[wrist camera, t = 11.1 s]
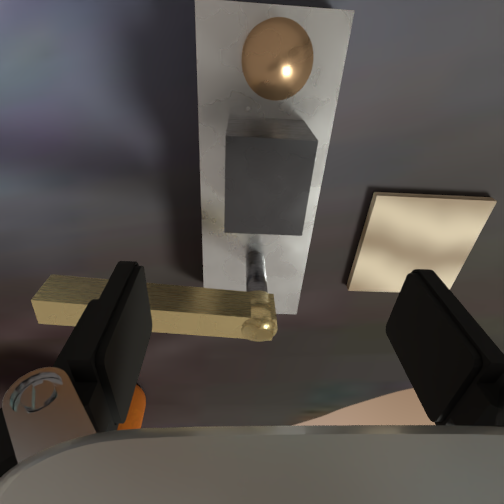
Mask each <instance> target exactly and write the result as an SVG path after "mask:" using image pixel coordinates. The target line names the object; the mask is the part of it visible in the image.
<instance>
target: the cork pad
mask: <svg viewBox="0 0 504 504" xmlns="http://www.w3.org/2000/svg"><path fill="white" fill-rule="evenodd" d="M496 202H497V201H496V200H494V199H493V198H491V197H472V196H451V195H430V194H409V193H388V192H374V193H373V197H372V200H371V204H370V207H369V210H368V214H367V217H366V221H365V224H364V228H363V231H362V234H361V238H360V241H359V245H358V248H357V251H356V255H355V258H354V262H353V265H352V268H351V272H350V275H349V279H348V282H347V288H348V291H376V292H400V291H401V288H402V286H403V283H404V281H405V279H406V276H407V274H409V273H411V272H412V271H413V270H414V269H430V270H433V271H434V272H435V273H436V274H437V275H438V277H439V278H440V279H441V280H442V281H443V283H444V284H445V285H446V286H447V287H448V289H449V290H450V288H451V287H452V285H453V283H454V281H455V279H456V277H457V275H458V273H459V271H460V270H461V268H462V266H463V264H464V262H465V260H466V258H467V256H468V255H469V253H470V251H471V249H472V247H473V245H474V243H475V241H476V240H477V238H478V236H479V234H480V232H481V230H482V228H483V226H484V225H485V223H486V221H487V219H488V217H489V215H490V213H491V211H492V210H493V208H494V206H495V204H496Z"/></svg>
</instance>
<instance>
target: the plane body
mask: <svg viewBox="0 0 504 504" xmlns="http://www.w3.org/2000/svg"><path fill="white" fill-rule="evenodd" d="M353 16H354V11H353V10H340V9H328V8H315V7H302V6H289V5H277V4H264V3H251V2H238V1H226V0H195V23H196V55H197V87H198V119H199V152H200V184H201V216H202V248H203V281H204V288H212V289H224V290H235V291H246V292H251V291H257V290H260V291H265V292H267V293H269V294H274V301H275V310H276V314H296V313H297V308H298V303H299V298H300V292H301V287H302V282H303V277H304V272H305V266H306V261H307V256H308V251H309V246H310V240H311V235H312V230H313V225H314V220H315V214H316V209H317V204H318V199H319V193H320V188H321V183H322V178H323V173H324V167H325V162H326V157H327V152H328V147H329V141H330V136H331V131H332V126H333V120H334V115H335V110H336V105H337V100H338V94H339V89H340V84H341V79H342V74H343V68H344V63H345V58H346V53H347V48H348V42H349V37H350V32H351V27H352V21H353ZM229 116H241V117H258V118H275V119H292V120H304V121H305V123H306V124H307V125H308V127H309V128H310V130H311V131H312V133H313V134H314V135H315V137H316V138H317V140H318V146H317V152H316V158H315V163H314V169H313V175H312V181H311V186H310V192H309V198H308V204H307V210H306V215H305V221H304V227H303V233H302V236H293V235H268V234H243V233H224V212H225V140H226V130H227V124H228V118H229Z"/></svg>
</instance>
